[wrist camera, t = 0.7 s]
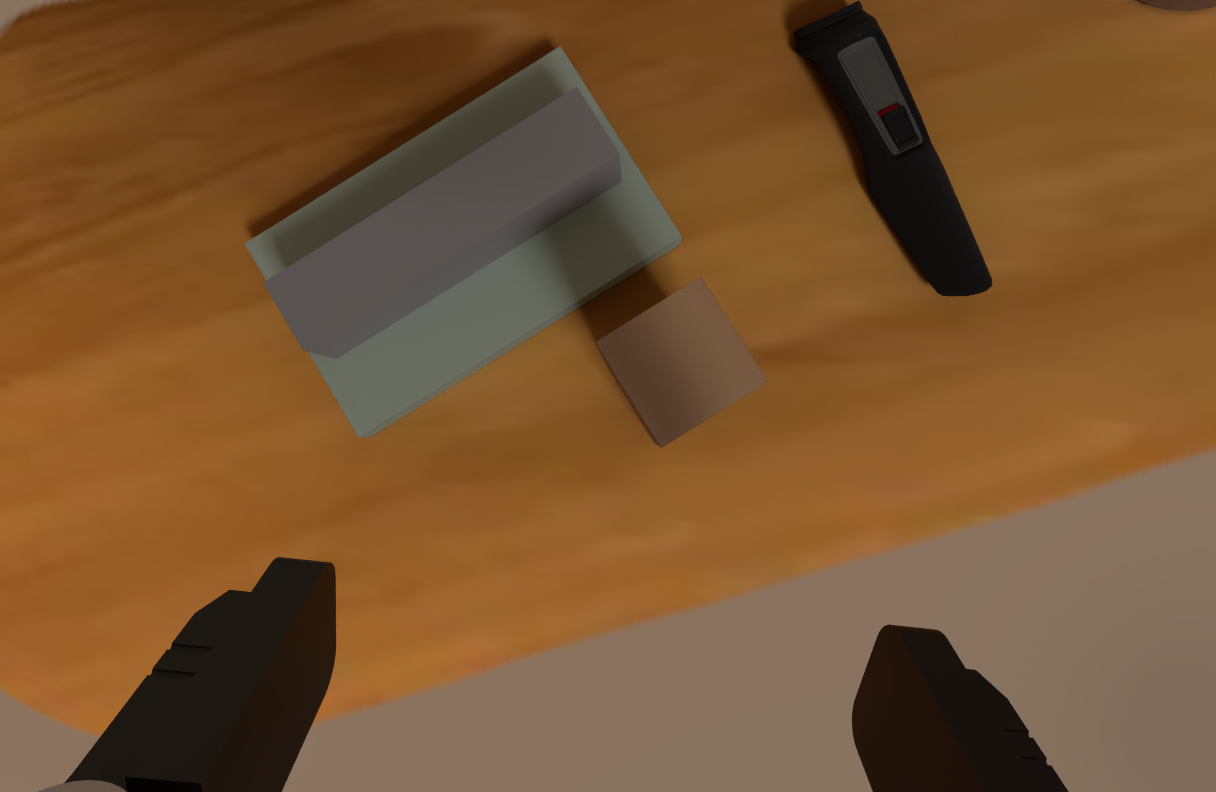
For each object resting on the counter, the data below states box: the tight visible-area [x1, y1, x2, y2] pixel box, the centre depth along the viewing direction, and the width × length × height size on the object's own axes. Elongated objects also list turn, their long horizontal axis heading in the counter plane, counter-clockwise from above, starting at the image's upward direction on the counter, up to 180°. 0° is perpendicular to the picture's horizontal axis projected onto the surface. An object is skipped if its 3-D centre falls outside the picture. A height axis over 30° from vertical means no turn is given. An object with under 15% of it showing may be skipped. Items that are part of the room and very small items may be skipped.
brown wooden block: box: [596, 277, 768, 448], centre depth 31 cm, size 4×4×10 cm
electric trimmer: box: [794, 1, 992, 296], centre depth 35 cm, size 4×16×3 cm, turn 24°
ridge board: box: [245, 47, 682, 437], centre depth 34 cm, size 18×11×5 cm, turn 122°
